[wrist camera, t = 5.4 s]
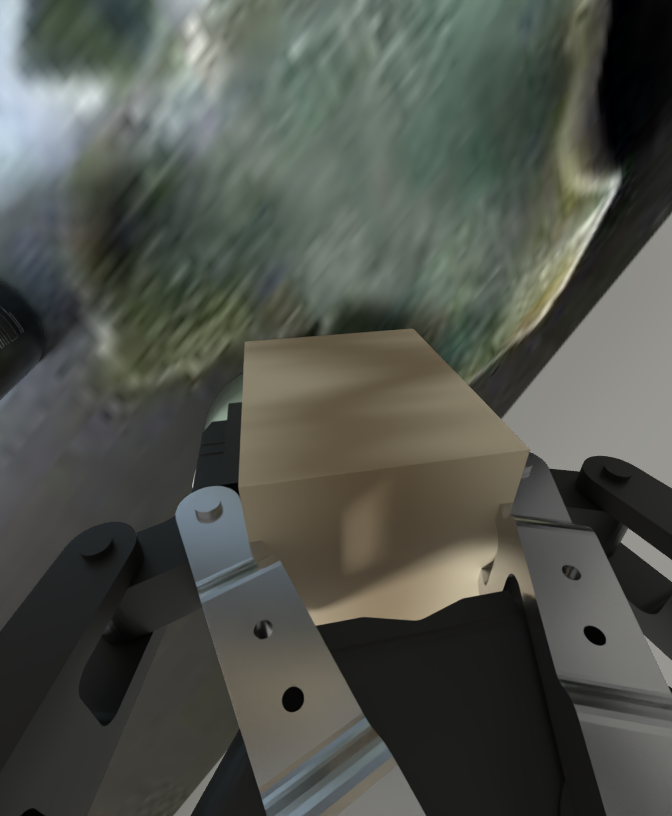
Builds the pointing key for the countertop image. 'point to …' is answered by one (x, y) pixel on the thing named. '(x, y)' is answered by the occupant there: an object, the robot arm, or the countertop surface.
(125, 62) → the countertop surface
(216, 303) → the countertop surface
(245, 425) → the beech block
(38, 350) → the supplement bottle
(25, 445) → the countertop surface
